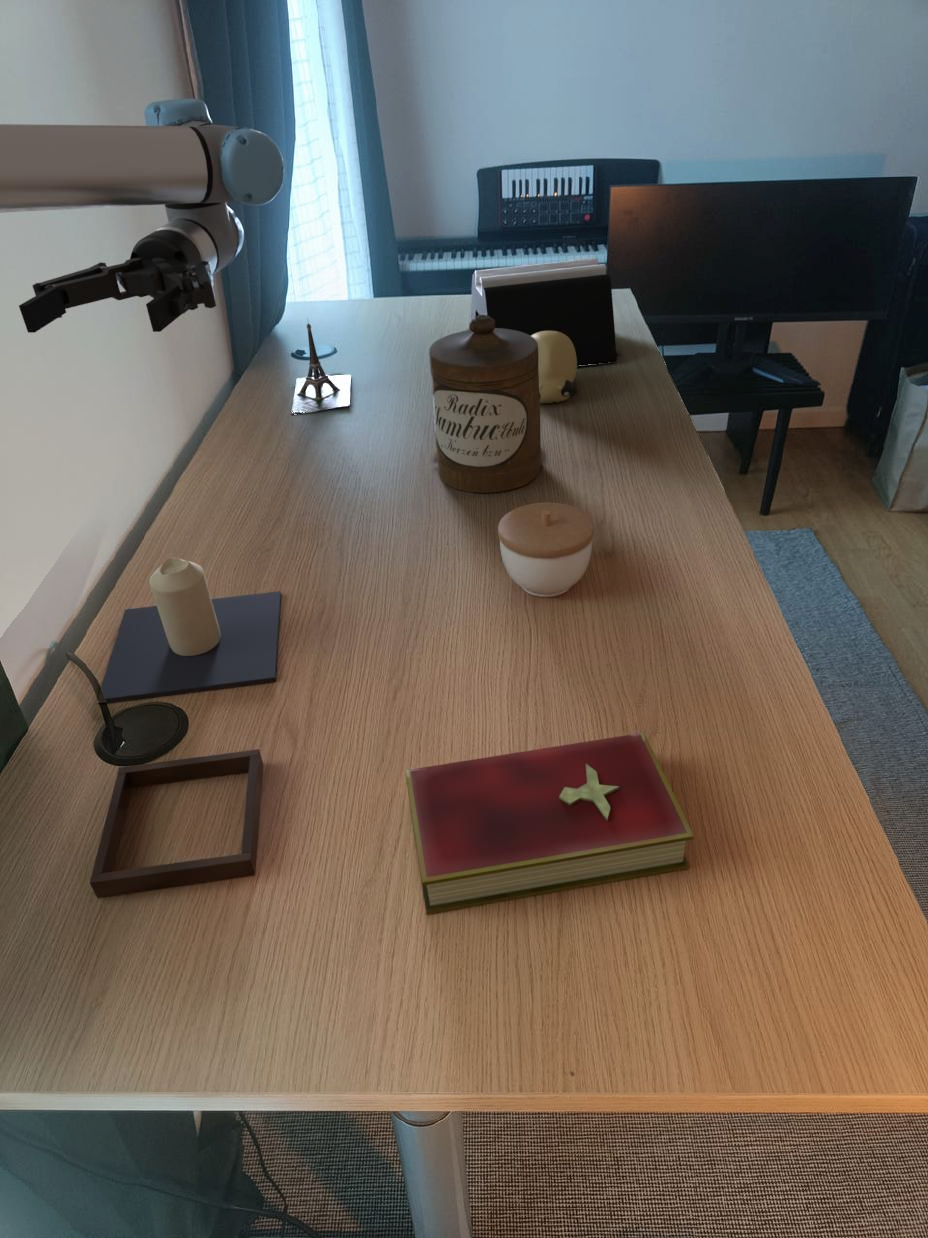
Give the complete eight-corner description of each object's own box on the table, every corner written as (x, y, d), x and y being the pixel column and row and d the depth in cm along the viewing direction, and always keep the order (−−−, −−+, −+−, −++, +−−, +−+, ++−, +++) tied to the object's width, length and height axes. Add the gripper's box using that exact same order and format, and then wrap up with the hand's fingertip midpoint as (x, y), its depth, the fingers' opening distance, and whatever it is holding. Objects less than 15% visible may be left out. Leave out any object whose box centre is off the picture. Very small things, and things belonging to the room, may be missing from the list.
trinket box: (590, 611, 97) (592, 539, 91) (494, 606, 99) (491, 535, 93) (593, 559, 105) (596, 490, 100) (505, 555, 107) (504, 487, 101)
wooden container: (424, 488, 122) (409, 332, 109) (455, 443, 133) (446, 296, 120) (526, 499, 118) (524, 338, 105) (550, 451, 129) (551, 300, 116)
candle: (167, 633, 97) (143, 557, 91) (217, 621, 98) (196, 545, 92) (172, 662, 93) (147, 584, 87) (224, 648, 94) (203, 571, 88)
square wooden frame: (96, 898, 70) (89, 882, 68) (124, 782, 80) (118, 767, 78) (255, 875, 71) (250, 859, 69) (263, 764, 81) (259, 748, 79)
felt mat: (98, 704, 89) (96, 700, 88) (126, 613, 101) (125, 609, 101) (276, 681, 90) (275, 677, 90) (281, 594, 103) (280, 590, 102)
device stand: (470, 338, 172) (466, 258, 163) (580, 325, 174) (582, 246, 165) (494, 378, 154) (491, 291, 145) (616, 364, 156) (621, 277, 147)
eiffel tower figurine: (351, 409, 146) (340, 329, 138) (290, 414, 146) (276, 335, 138) (351, 376, 158) (341, 301, 150) (295, 381, 158) (282, 306, 150)
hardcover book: (408, 798, 76) (404, 764, 74) (639, 760, 78) (643, 726, 76) (426, 914, 67) (421, 880, 64) (688, 868, 69) (694, 833, 66)
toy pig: (520, 416, 149) (520, 394, 138) (515, 348, 150) (515, 322, 139) (578, 411, 148) (582, 389, 138) (573, 343, 149) (577, 316, 139)
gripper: (279, 292, 104) (215, 355, 88) (86, 295, 108) (-11, 355, 91) (267, 225, 100) (198, 277, 83) (66, 230, 103) (-39, 281, 87)
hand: (89, 318), depth 87 cm, fingers open, 13 cm apart
